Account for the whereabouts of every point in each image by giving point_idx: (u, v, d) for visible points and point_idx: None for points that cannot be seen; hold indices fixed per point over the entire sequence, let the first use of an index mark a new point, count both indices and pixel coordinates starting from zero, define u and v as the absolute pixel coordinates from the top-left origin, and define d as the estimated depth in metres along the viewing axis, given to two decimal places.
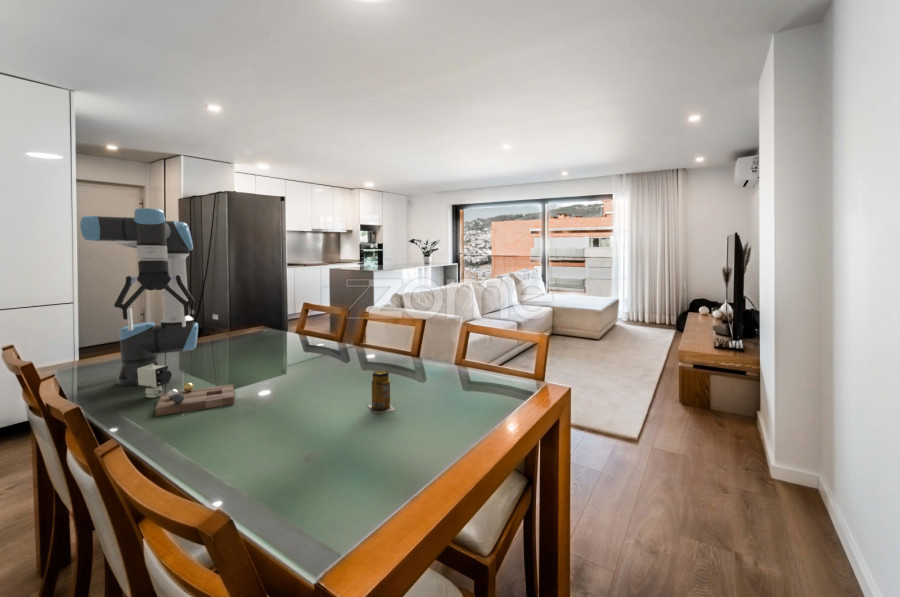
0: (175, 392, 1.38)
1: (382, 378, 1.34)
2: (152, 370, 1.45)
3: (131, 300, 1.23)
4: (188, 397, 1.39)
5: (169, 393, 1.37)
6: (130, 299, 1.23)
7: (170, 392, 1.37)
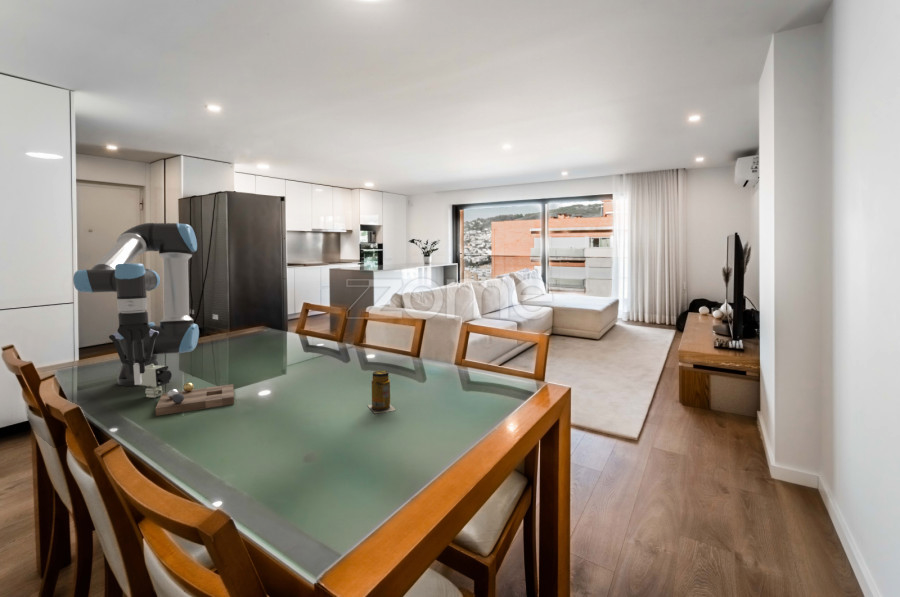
0: (175, 392, 1.38)
1: (382, 378, 1.34)
2: (152, 370, 1.45)
3: (131, 355, 1.31)
4: (188, 397, 1.39)
5: (169, 393, 1.37)
6: (129, 354, 1.31)
7: (170, 392, 1.37)
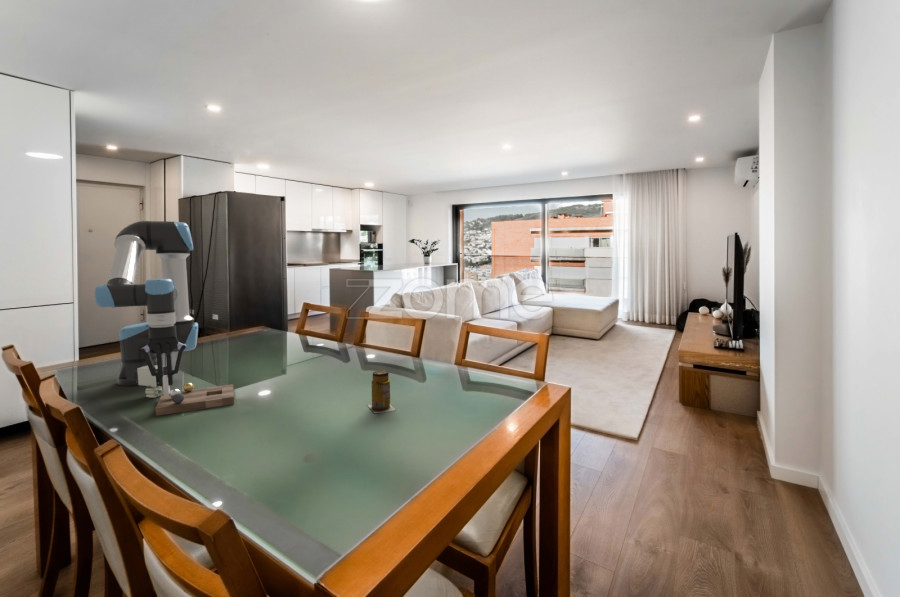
0: None
1: (382, 378, 1.34)
2: None
3: (160, 367, 1.35)
4: (188, 397, 1.39)
5: (172, 392, 1.37)
6: (158, 367, 1.35)
7: (173, 391, 1.38)
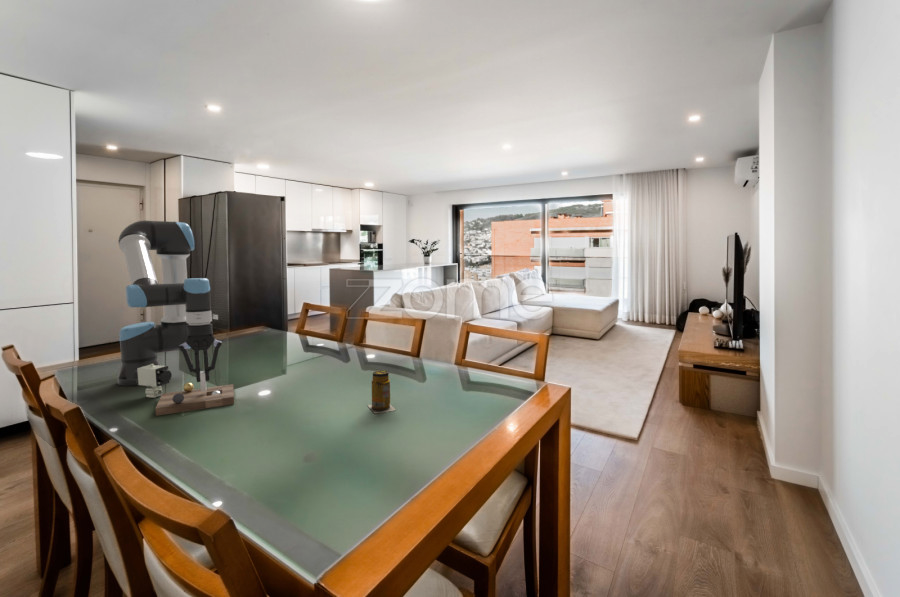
0: None
1: (382, 378, 1.34)
2: (152, 370, 1.45)
3: (197, 363, 1.40)
4: (188, 397, 1.39)
5: (217, 393, 1.44)
6: (196, 363, 1.40)
7: (218, 393, 1.44)
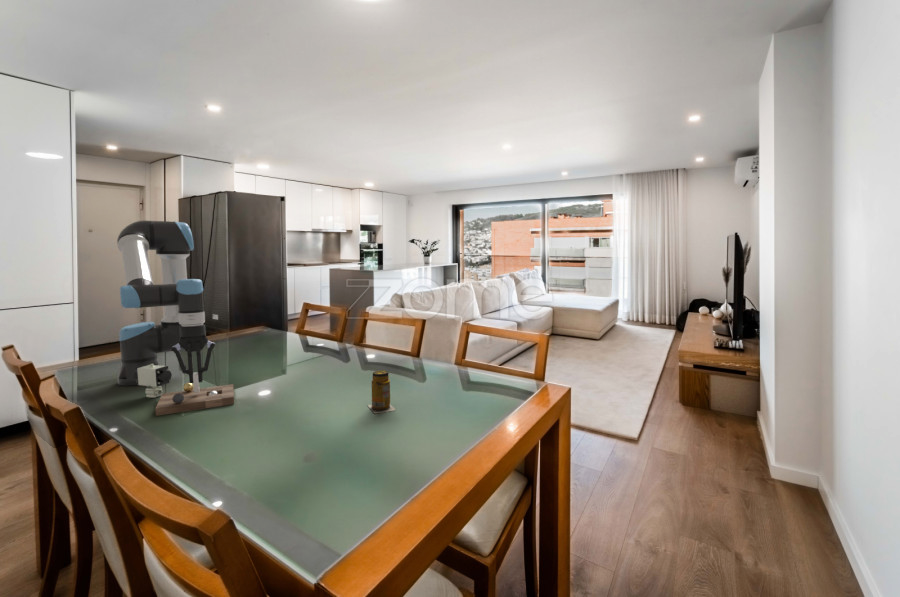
0: None
1: (382, 378, 1.34)
2: (152, 370, 1.45)
3: (190, 365, 1.39)
4: (188, 397, 1.39)
5: (212, 393, 1.43)
6: (189, 365, 1.39)
7: (213, 393, 1.43)
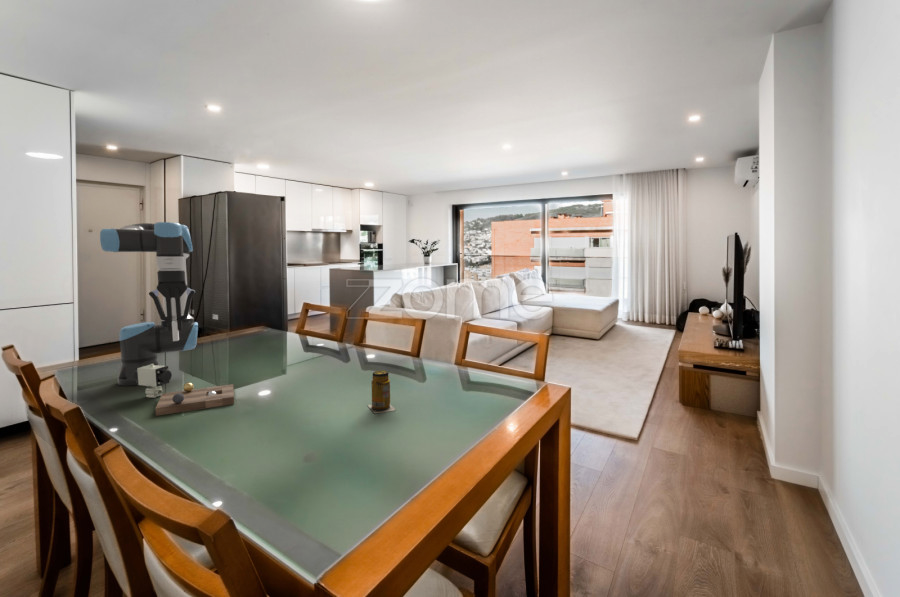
0: None
1: (382, 378, 1.34)
2: (152, 370, 1.45)
3: (169, 311, 1.35)
4: (188, 397, 1.39)
5: (210, 394, 1.43)
6: (168, 311, 1.35)
7: (211, 393, 1.43)
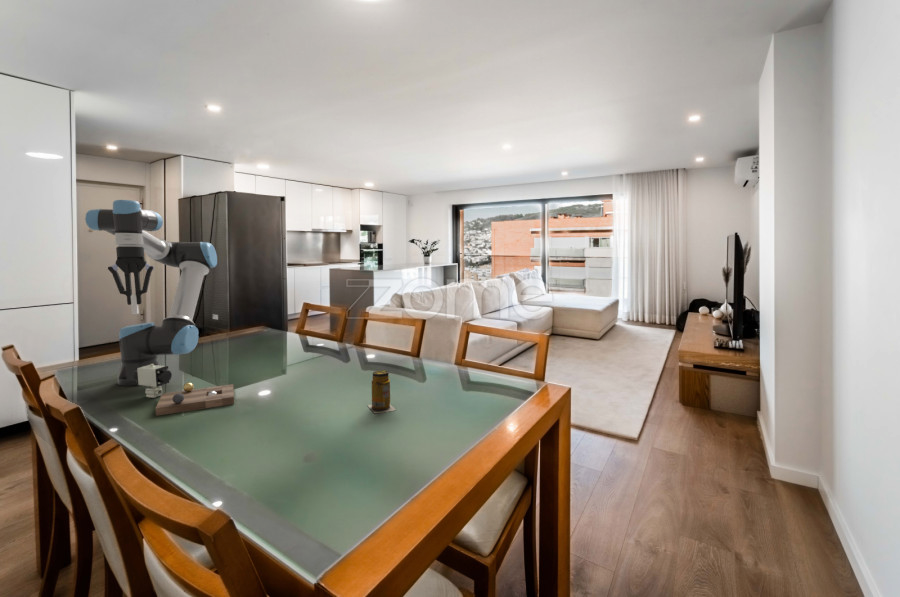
0: None
1: (382, 378, 1.34)
2: (152, 370, 1.45)
3: (128, 286, 1.41)
4: (188, 397, 1.39)
5: (211, 394, 1.43)
6: (127, 286, 1.41)
7: (212, 393, 1.43)
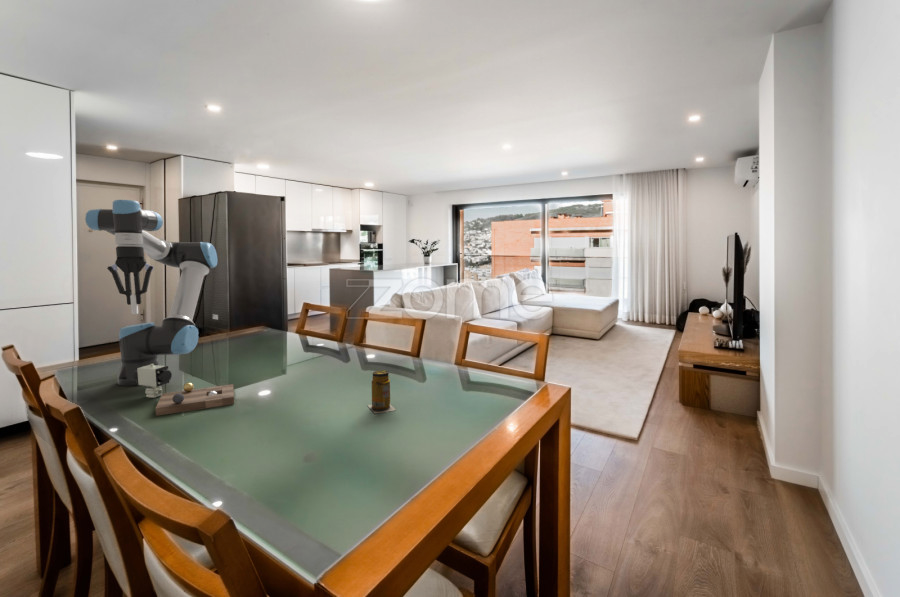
0: None
1: (382, 378, 1.34)
2: (152, 370, 1.45)
3: (128, 286, 1.41)
4: (188, 397, 1.39)
5: (211, 394, 1.43)
6: (126, 285, 1.41)
7: (213, 393, 1.43)
